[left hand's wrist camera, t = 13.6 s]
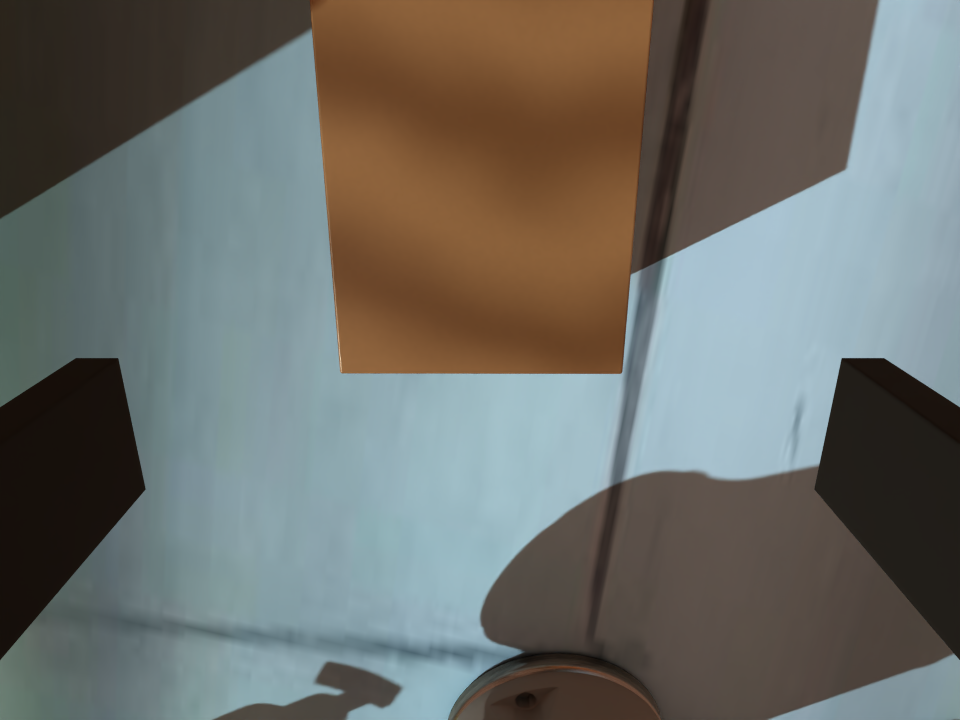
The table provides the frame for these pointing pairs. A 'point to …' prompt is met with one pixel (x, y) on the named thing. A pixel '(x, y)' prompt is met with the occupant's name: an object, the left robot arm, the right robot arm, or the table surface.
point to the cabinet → (481, 180)
